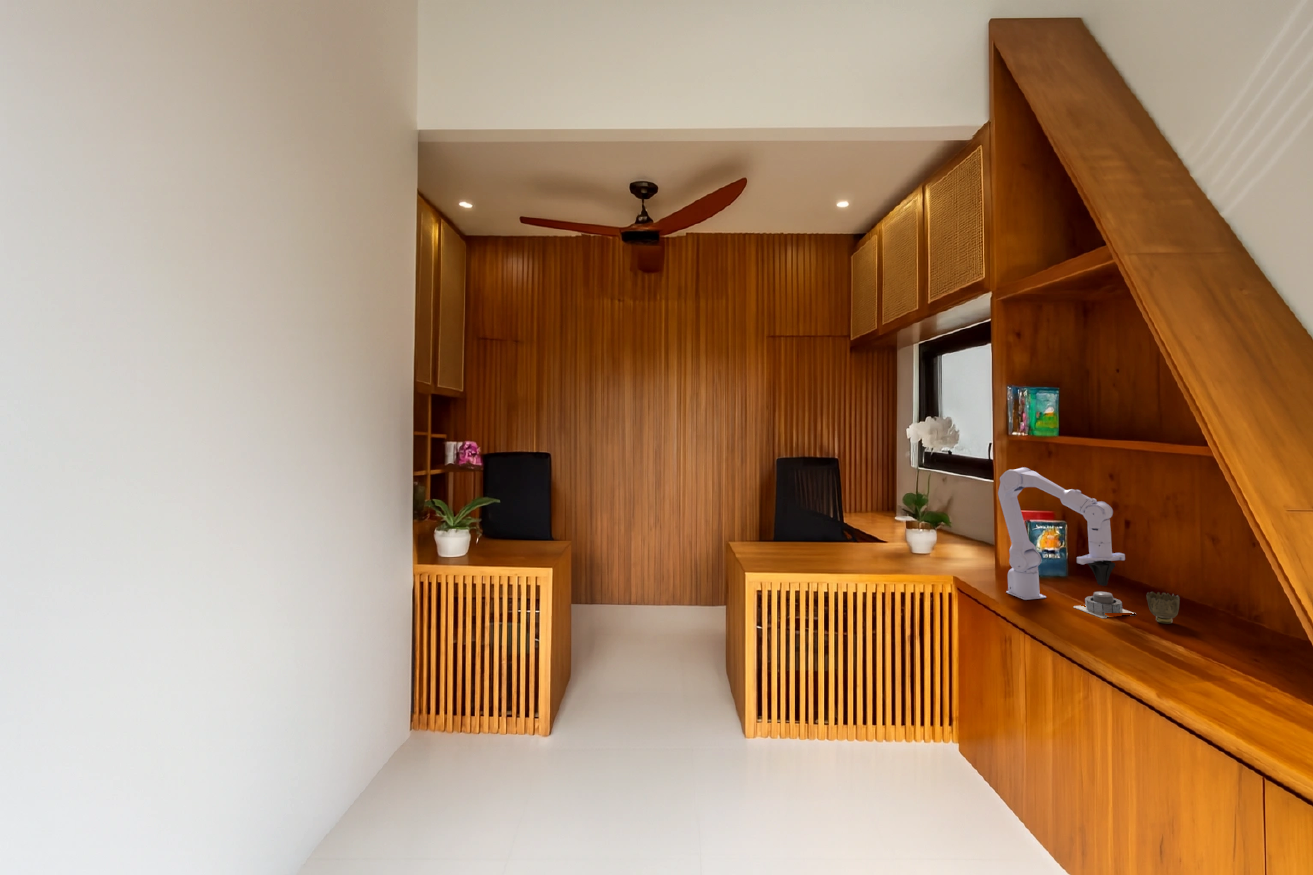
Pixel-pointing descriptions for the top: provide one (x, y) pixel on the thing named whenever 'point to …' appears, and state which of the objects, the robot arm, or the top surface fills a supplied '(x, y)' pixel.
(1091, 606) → the flanged metal ring
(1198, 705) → the top surface
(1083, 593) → the top surface
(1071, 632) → the top surface
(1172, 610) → the cup
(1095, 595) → the cap
